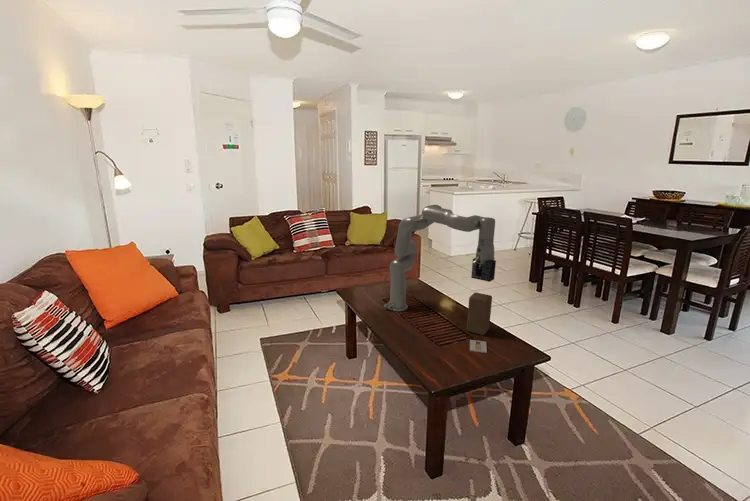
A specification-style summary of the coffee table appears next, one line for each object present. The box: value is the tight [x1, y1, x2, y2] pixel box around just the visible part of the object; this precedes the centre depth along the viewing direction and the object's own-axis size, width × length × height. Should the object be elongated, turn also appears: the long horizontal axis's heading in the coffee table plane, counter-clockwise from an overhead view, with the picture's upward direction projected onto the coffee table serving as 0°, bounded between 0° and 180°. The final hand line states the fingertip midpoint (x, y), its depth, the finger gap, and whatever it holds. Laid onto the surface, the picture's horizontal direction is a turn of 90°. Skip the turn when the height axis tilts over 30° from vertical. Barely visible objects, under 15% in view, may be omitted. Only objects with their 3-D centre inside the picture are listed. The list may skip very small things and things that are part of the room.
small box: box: [470, 257, 497, 283], centre depth 202 cm, size 11×6×10 cm, turn 51°
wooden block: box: [466, 292, 493, 336], centre depth 208 cm, size 10×10×20 cm
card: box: [469, 339, 488, 354], centre depth 192 cm, size 8×11×1 cm
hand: (482, 274), depth 202 cm, fingers closed on small box, 7 cm apart
